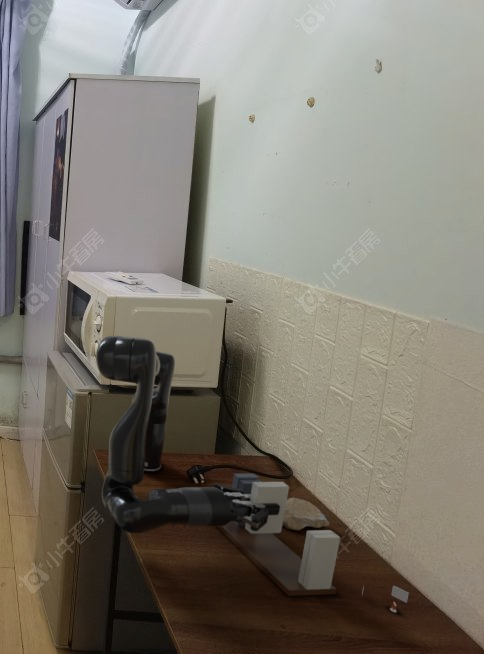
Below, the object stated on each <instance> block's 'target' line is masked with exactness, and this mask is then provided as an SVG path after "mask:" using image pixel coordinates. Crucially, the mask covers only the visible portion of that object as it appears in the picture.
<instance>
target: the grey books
mask: <svg viewBox="0 0 484 654" xmlns="http://www.w3.org/2000/svg"><path fill="white" fill-rule="evenodd" d="M259 478H260V477H259V476H258V475H256V474H255V473H233V478H232V484H231V487H233V488H237V489H241V490H243V491H244V493H245V494H250V495H251V490H252V484H253V482H263V481H262V480H261V479H259ZM232 493H235V492H232ZM233 522H234V523H235V524H236V525H237V526H246V523H245V522H236V521H233Z"/></svg>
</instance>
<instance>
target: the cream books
mask: <svg viewBox="0 0 484 654" xmlns="http://www.w3.org/2000/svg"><path fill="white" fill-rule="evenodd" d="M340 542H341V537H340V536H339V535H338V534H336V533H335V532H334V531H333V530H331V529H324V530H323V529H321V530H320V529H319V530H317V529H315V530H306V535H305V540H304V544H303V545H304V546H303V550H302V558H301V559H302V561H301V567H300V572H299V578H298V582H299V583H300V584H301V585H303V587H305V588H306V589H307V590H311V589H330V588H331V585H332V582H333V578H334V571H335V566H336V562H337V556H338V552H339V546H340Z"/></svg>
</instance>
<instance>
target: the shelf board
mask: <svg viewBox="0 0 484 654" xmlns="http://www.w3.org/2000/svg"><path fill="white" fill-rule="evenodd" d="M216 527H217V528H218V529H219V530H220V532H222V533H223V534H224V535H225V536H226V537H227V538H228V539H229V540H230V541H231V542H232V543H233V544H234V545H235V546H237V548H238V549H240V551H241V552H243V554H244V555H245V556H246V557H247V558H248V559H249V560H250V561H252V562H253V563H254V565H256V566H257V567H258V569H260V570H261V571H262V572H263V573H264V574H265V575H266V576H267V577H268V578H269V579H270V580H271V581H272V582H273V583H274V584H275V585H277V587H278V588H280V590H281V591H282V592H283V593H285V594H286V595H287V597H296V596H297V597H298V596H321V595H323V596H324V595H336V593H337V588H336V586H334V585H333V584H331V588H330V589H311V590H307V589H306V588H305V587H303V585H301V584H300V583H299V582H298V578H299V572H300V567H301V561H302V558H301V557H300V556H299V555H298V554H297V553H296V552H294V551H293V550H292V549H291V548H289V546H287V545H286V544H285V543H284V542H283V541H282V540H280V539H279V538H278V537H277V536H276V535H274V533H259V534H251V533H250V532H249V531H248V530H247V529H245V526H237V525H236V524H235V523H234V522H233V521H231V522H229V523H228V524H226V525H224V526H216Z"/></svg>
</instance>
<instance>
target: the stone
mask: <svg viewBox="0 0 484 654" xmlns="http://www.w3.org/2000/svg"><path fill="white" fill-rule="evenodd" d="M329 526H330V522H329V519H328V518H327V516H326V515H325V514H324V513H323V512H322V511H321V509H320V508H318V507H317V506H316V505H315V504H313V503H312V502H310V501H309V500H304V499H301V498H296V497H289V498H287V502H286V507H285V513H284V519H283V524H282V527H284V528H285V529H287V530H292V531H301V530H302V529H303V530H304V529H305V527H312V528H315V529H320V528H324V527H329Z"/></svg>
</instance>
